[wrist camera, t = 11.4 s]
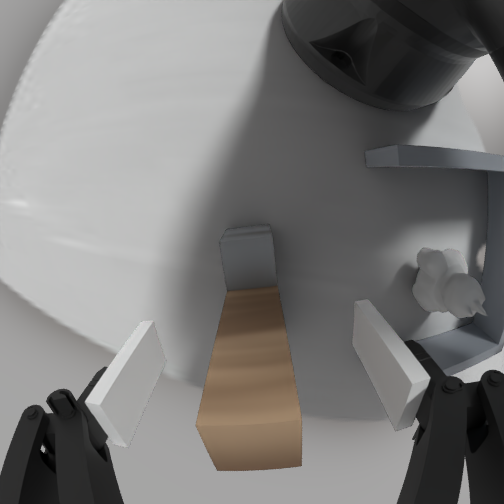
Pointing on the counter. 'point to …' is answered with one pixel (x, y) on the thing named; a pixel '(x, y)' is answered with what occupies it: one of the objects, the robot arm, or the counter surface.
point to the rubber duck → (447, 284)
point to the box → (496, 256)
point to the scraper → (251, 365)
